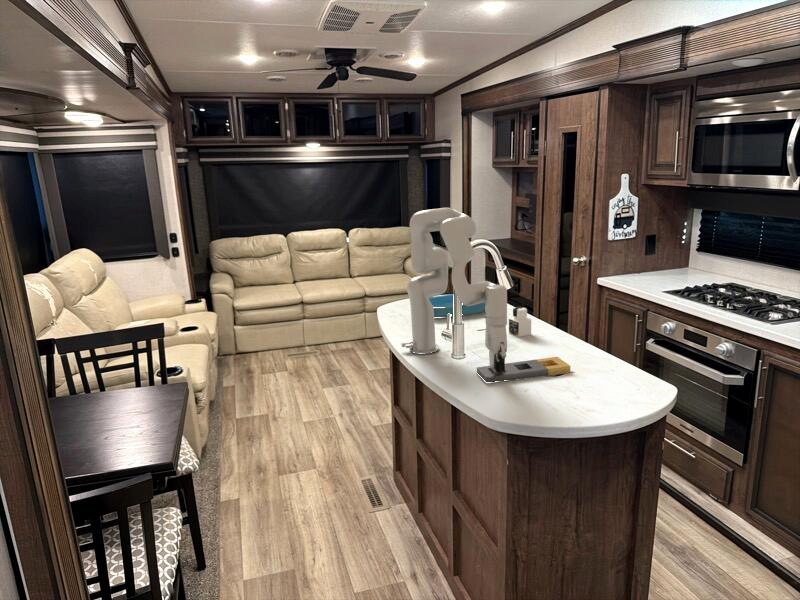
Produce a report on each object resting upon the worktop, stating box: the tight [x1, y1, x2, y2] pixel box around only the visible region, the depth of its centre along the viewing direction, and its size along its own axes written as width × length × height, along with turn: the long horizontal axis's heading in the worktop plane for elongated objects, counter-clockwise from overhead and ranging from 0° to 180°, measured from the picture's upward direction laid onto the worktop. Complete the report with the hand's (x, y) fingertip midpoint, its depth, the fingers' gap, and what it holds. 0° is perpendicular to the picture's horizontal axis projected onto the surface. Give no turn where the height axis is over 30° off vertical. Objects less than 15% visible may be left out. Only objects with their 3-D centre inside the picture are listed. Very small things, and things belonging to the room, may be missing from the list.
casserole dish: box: [429, 293, 485, 318], centre depth 281 cm, size 37×22×7 cm, turn 105°
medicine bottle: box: [508, 306, 532, 338], centre depth 241 cm, size 7×7×12 cm
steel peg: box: [489, 351, 504, 374], centre depth 196 cm, size 4×4×10 cm
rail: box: [476, 356, 571, 382], centre depth 199 cm, size 32×10×2 cm, turn 101°
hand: (497, 367), depth 197 cm, fingers open, 5 cm apart
